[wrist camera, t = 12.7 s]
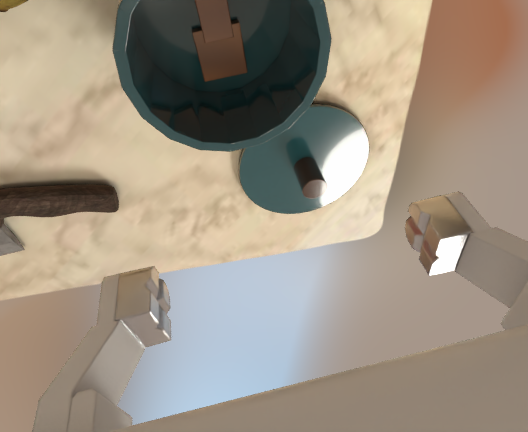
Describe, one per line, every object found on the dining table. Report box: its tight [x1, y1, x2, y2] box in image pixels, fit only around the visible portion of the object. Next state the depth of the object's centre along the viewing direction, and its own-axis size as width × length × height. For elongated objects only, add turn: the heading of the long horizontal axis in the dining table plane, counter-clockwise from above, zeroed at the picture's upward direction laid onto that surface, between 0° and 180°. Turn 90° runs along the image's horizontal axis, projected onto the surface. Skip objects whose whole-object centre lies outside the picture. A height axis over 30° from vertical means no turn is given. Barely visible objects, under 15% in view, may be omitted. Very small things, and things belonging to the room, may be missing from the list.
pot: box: [113, 0, 331, 152], centre depth 29 cm, size 14×15×9 cm
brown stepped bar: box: [192, 0, 248, 82], centre depth 31 cm, size 10×4×4 cm, turn 7°
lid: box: [239, 104, 369, 214], centre depth 43 cm, size 15×15×5 cm
